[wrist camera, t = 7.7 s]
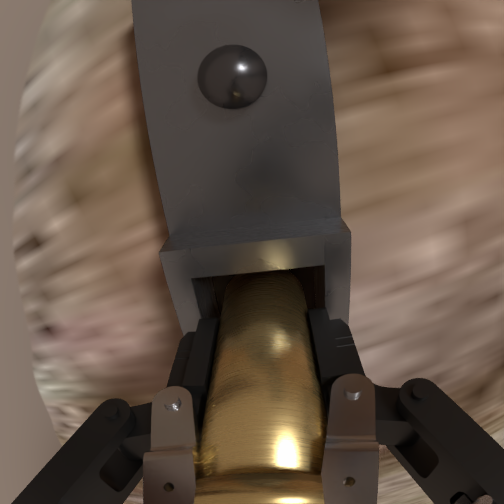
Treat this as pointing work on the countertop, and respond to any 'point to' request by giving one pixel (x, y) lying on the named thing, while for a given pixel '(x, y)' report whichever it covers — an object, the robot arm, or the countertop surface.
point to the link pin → (263, 399)
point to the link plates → (242, 146)
